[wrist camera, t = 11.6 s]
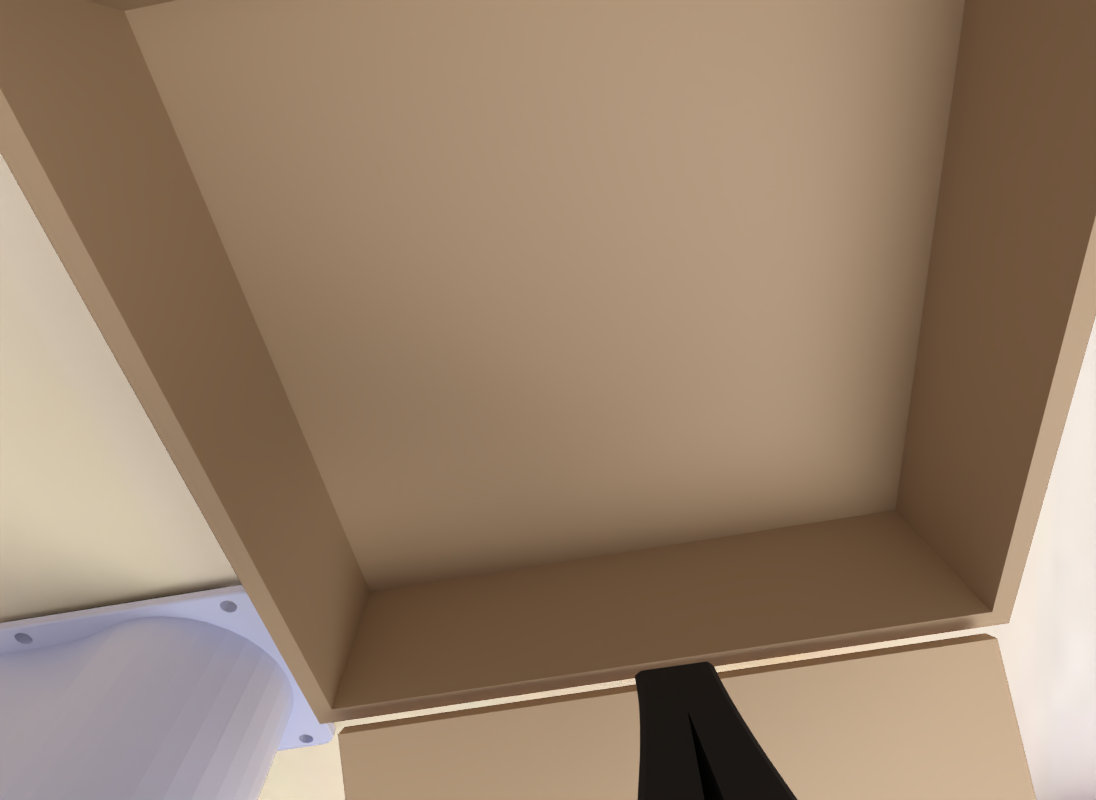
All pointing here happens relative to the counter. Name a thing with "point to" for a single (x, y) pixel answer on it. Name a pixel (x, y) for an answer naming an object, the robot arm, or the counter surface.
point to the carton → (580, 312)
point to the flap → (770, 713)
